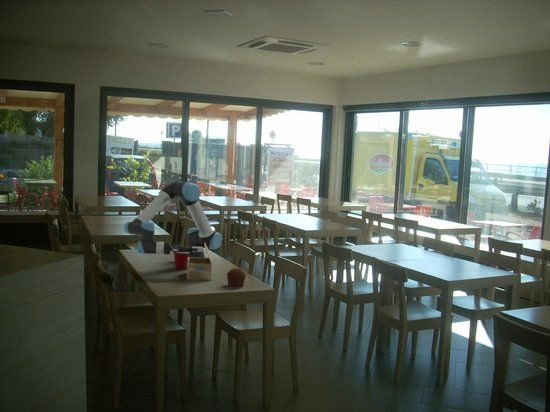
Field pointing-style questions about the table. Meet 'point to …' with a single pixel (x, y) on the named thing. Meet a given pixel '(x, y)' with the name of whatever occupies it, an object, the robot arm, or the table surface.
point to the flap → (208, 252)
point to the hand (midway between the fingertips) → (202, 249)
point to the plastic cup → (180, 259)
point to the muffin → (236, 277)
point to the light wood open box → (199, 268)
